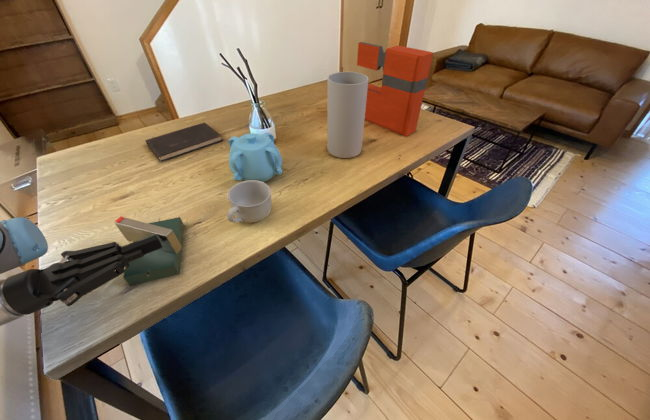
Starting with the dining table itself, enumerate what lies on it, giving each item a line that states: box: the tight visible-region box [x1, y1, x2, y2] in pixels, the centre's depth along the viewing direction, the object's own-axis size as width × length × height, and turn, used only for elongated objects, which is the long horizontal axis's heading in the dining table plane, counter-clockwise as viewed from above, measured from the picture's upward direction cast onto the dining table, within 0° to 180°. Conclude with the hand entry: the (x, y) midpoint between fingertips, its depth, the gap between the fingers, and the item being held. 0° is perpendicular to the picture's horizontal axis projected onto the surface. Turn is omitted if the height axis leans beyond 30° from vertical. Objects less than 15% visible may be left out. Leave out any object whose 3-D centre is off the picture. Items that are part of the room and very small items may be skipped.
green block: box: [122, 216, 197, 286], centre depth 65 cm, size 18×18×3 cm
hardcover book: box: [144, 122, 223, 163], centre depth 105 cm, size 16×23×2 cm
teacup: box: [226, 180, 273, 224], centre depth 72 cm, size 14×11×8 cm
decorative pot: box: [228, 132, 283, 183], centre depth 86 cm, size 16×16×14 cm
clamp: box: [356, 41, 434, 137], centre depth 110 cm, size 9×35×28 cm, turn 44°
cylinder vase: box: [326, 71, 369, 159], centre depth 92 cm, size 12×12×25 cm
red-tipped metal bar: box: [113, 216, 183, 254], centre depth 62 cm, size 14×2×6 cm, turn 73°
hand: (158, 241), depth 59 cm, fingers closed
